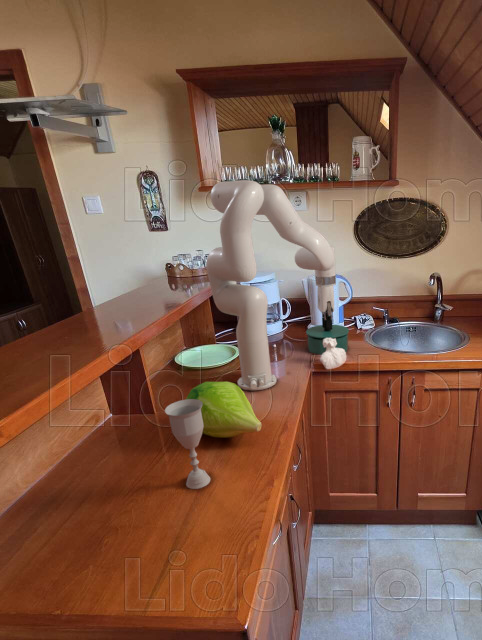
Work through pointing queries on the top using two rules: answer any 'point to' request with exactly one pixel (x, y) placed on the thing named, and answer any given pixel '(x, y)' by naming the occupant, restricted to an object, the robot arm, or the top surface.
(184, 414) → the chalice
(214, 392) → the lettuce
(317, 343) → the pot
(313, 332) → the lid
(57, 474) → the top surface
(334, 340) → the white lumpy round piece
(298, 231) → the robot arm
